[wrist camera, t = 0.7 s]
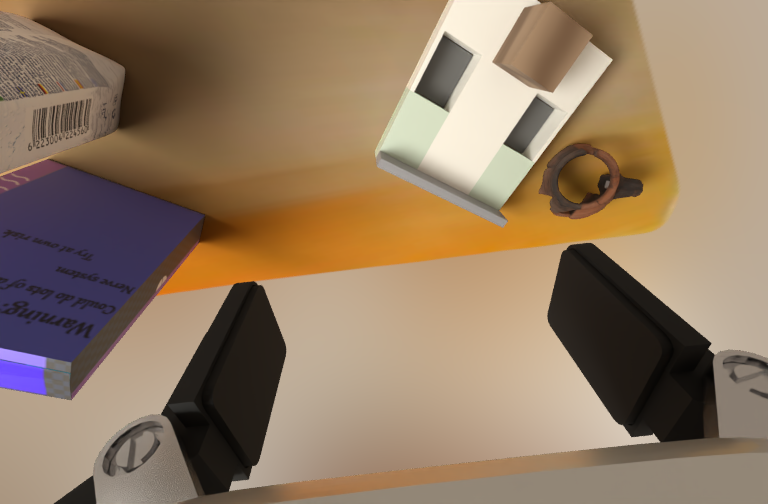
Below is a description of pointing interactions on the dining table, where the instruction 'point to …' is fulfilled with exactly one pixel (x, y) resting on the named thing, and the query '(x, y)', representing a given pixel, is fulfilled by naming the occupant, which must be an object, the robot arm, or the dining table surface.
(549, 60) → the block
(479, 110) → the tray
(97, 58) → the juice carton
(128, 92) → the dining table surface
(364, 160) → the dining table surface
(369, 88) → the dining table surface
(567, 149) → the brown curved piece
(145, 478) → the robot arm
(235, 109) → the dining table surface
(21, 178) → the blue rectangular box
